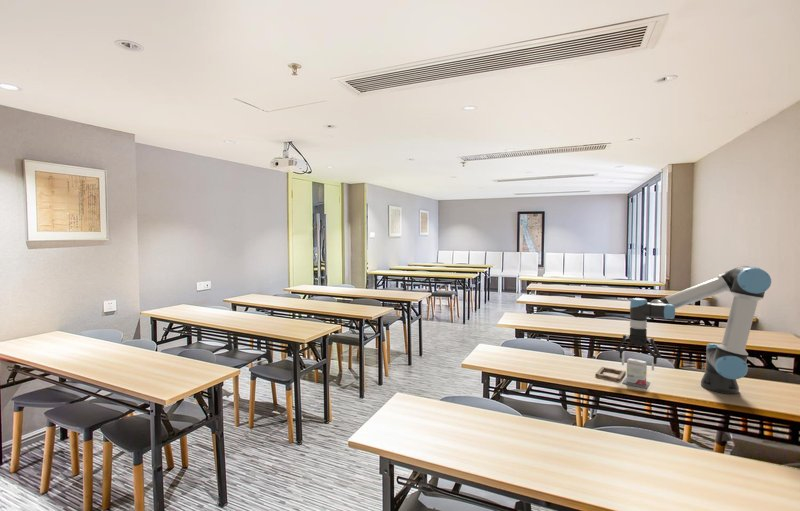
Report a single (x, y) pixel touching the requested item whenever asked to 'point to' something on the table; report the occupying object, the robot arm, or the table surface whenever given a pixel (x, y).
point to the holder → (618, 379)
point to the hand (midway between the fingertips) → (637, 367)
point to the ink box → (636, 371)
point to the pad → (636, 384)
